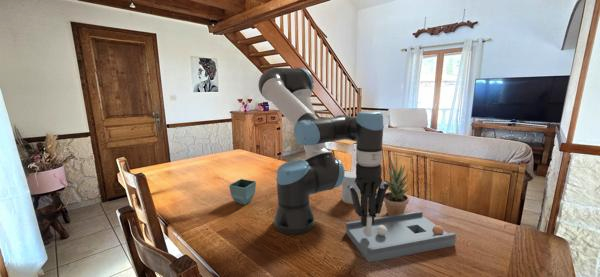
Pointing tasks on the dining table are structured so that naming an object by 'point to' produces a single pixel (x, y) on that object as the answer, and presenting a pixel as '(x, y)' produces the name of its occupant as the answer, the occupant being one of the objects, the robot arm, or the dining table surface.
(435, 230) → the rust ball
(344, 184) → the cup
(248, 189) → the flower pot
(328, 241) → the dining table surface
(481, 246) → the dining table surface
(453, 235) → the tray
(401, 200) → the potted plant
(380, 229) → the ball
